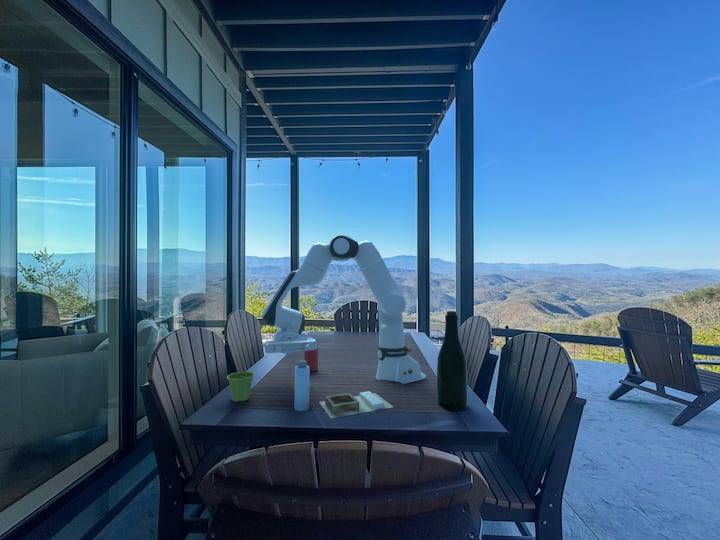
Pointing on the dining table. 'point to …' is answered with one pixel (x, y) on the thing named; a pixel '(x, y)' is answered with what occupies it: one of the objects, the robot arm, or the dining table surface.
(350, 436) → the dining table surface
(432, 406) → the dining table surface
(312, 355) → the beer can
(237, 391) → the plant pot
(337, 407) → the jig
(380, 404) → the white rectangular bar
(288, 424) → the dining table surface
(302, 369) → the tapered blue cylinder
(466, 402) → the green wine bottle
